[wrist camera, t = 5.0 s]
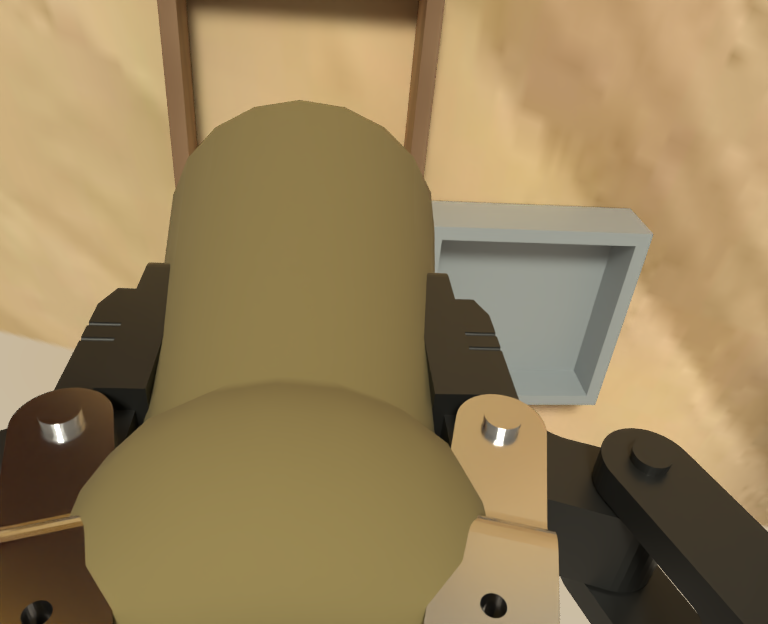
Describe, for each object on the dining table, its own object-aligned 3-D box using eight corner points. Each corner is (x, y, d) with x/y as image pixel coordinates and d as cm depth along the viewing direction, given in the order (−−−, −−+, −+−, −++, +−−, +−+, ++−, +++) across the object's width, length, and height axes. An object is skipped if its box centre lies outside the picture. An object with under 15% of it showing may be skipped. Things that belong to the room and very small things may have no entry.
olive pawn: (337, 370, 18) (346, 895, 9) (125, 258, 16) (-157, 816, 7) (487, 202, 15) (715, 696, 6) (262, 38, 13) (113, 449, 4)
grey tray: (630, 208, 30) (653, 234, 28) (578, 373, 36) (595, 404, 33) (421, 200, 29) (429, 226, 27) (400, 371, 34) (406, 404, 32)
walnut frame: (440, -46, 24) (449, -39, 22) (412, 201, 29) (417, 222, 27) (163, -69, 23) (150, -64, 21) (186, 193, 28) (178, 213, 26)
